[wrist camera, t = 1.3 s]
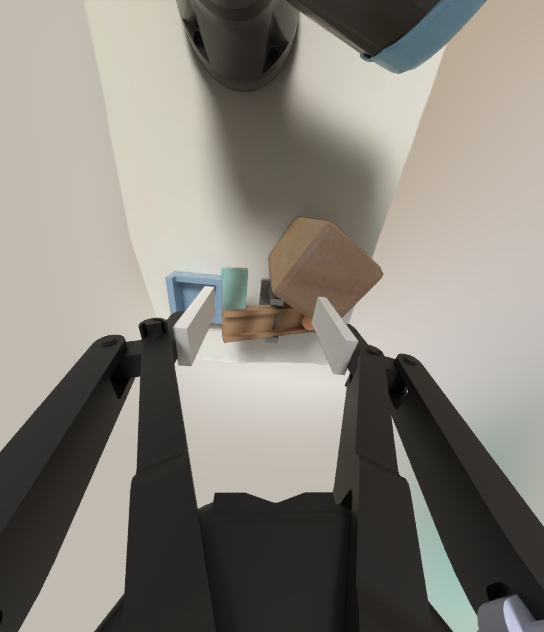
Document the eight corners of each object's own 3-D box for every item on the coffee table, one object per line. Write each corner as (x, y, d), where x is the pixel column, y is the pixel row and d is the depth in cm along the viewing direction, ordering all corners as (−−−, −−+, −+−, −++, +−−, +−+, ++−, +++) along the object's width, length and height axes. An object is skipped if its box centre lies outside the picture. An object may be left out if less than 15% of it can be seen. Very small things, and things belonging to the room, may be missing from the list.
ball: (301, 309, 39) (306, 317, 36) (318, 310, 40) (324, 318, 36) (298, 324, 41) (303, 333, 38) (314, 324, 41) (320, 334, 38)
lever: (222, 337, 36) (225, 348, 33) (221, 267, 30) (225, 273, 27) (311, 326, 44) (320, 335, 41) (326, 268, 37) (337, 274, 34)
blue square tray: (174, 270, 40) (165, 277, 36) (224, 275, 41) (220, 282, 37) (180, 314, 45) (172, 323, 41) (224, 317, 46) (221, 327, 42)
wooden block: (302, 284, 43) (329, 334, 25) (266, 258, 40) (268, 294, 22) (333, 246, 39) (390, 274, 22) (296, 214, 36) (328, 216, 19)
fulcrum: (257, 321, 47) (256, 344, 39) (261, 278, 42) (261, 294, 34) (281, 323, 48) (285, 345, 40) (288, 281, 42) (294, 297, 34)
